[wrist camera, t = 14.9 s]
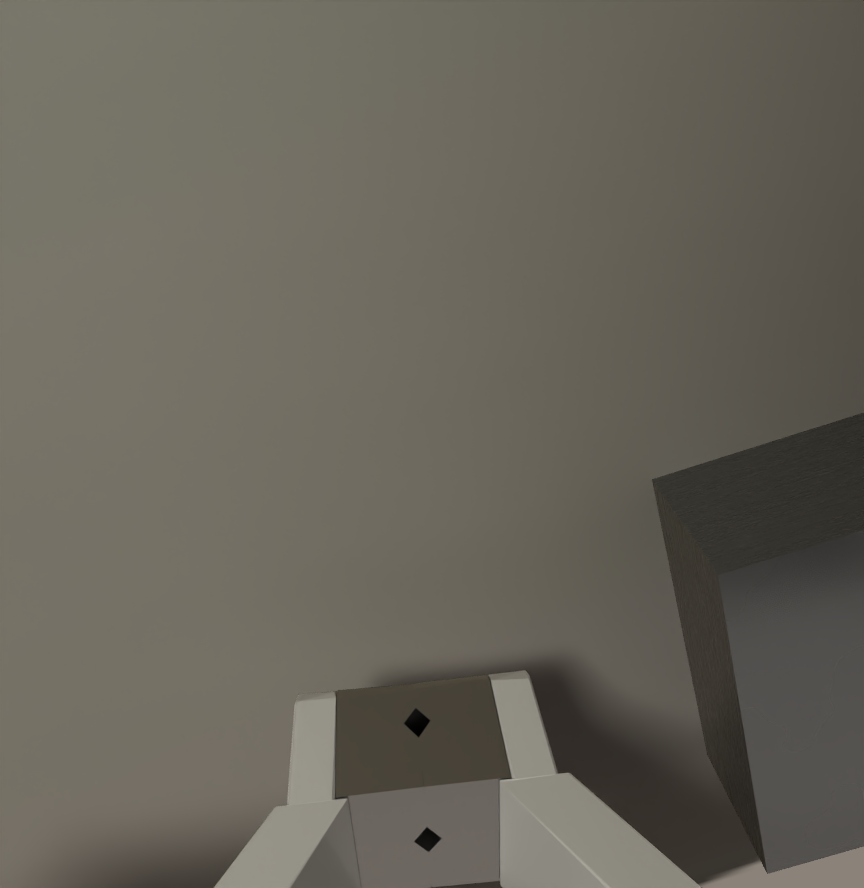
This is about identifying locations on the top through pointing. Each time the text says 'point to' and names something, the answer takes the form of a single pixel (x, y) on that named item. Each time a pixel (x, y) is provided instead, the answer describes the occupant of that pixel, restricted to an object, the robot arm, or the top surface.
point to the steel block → (778, 632)
